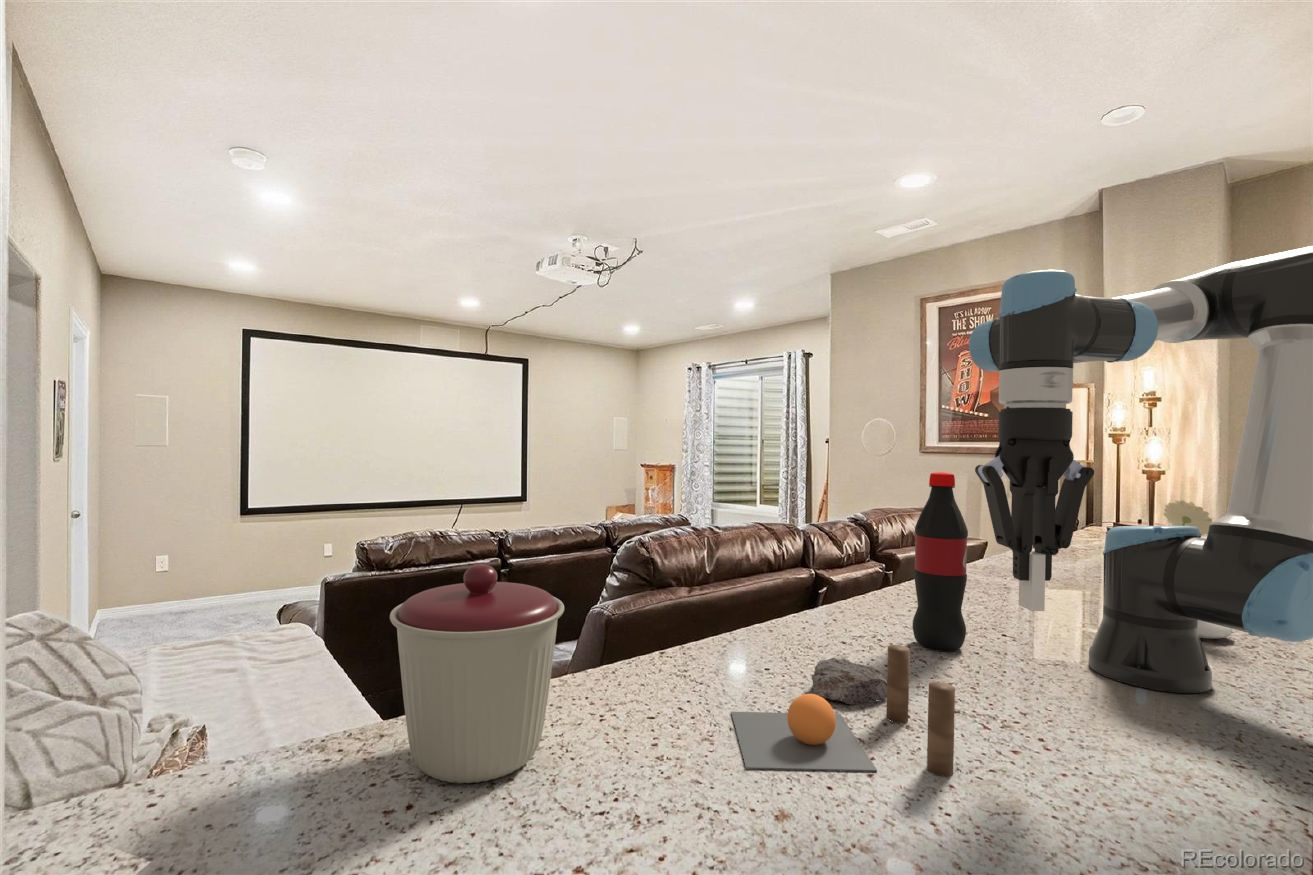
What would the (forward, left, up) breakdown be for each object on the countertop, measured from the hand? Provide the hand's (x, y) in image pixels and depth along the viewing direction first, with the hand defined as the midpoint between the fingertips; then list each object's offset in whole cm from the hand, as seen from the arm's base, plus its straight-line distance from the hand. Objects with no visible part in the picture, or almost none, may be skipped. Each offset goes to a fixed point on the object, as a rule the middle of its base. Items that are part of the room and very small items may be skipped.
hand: (1031, 607), depth 77 cm
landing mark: (+27, 0, -16) cm, 32 cm away
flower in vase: (-57, -47, -16) cm, 76 cm away
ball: (+26, +1, -13) cm, 29 cm away
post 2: (+13, +6, -16) cm, 22 cm away
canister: (+63, +6, -16) cm, 65 cm away
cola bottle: (-5, -36, -16) cm, 40 cm away
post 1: (+13, -6, -16) cm, 22 cm away
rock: (+17, -14, -17) cm, 28 cm away
